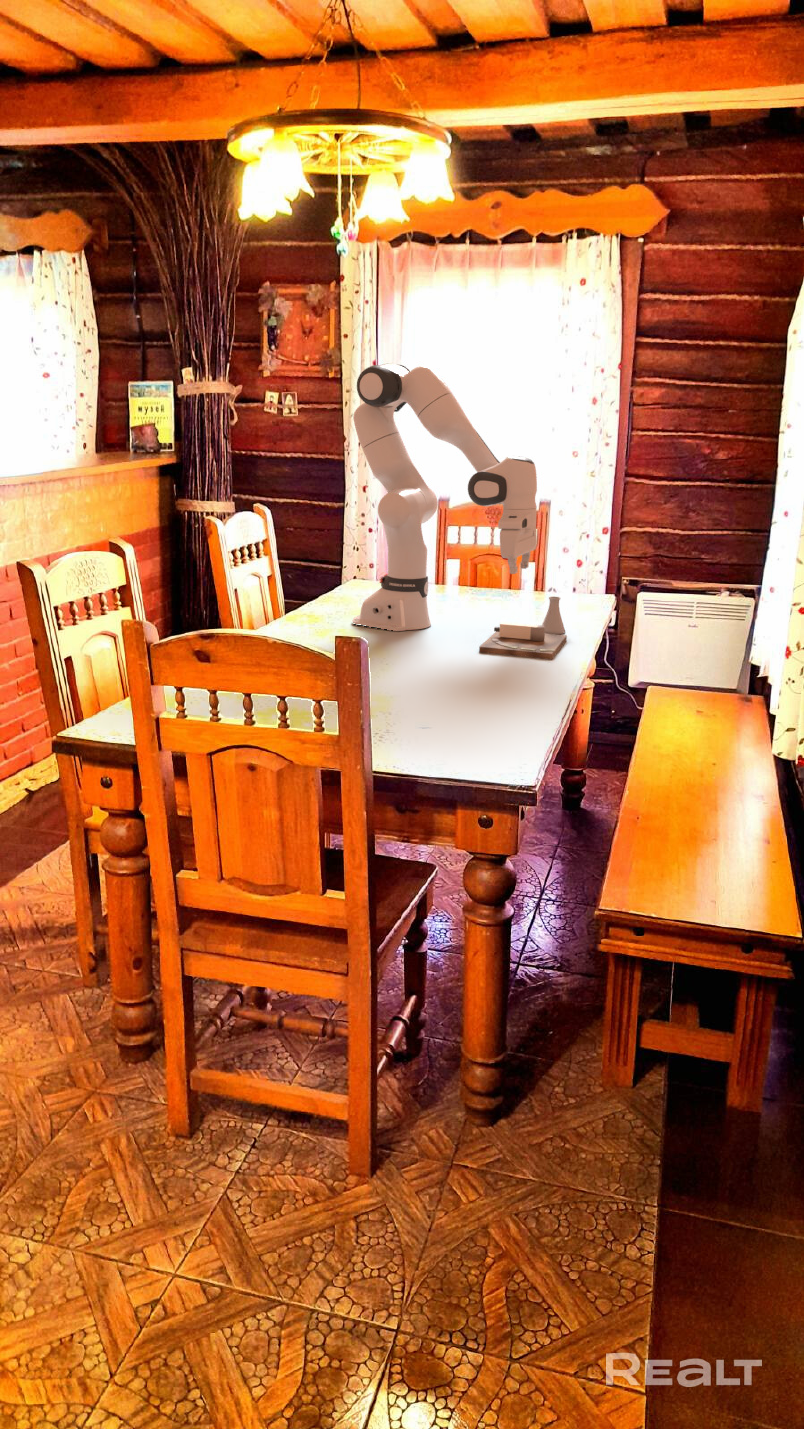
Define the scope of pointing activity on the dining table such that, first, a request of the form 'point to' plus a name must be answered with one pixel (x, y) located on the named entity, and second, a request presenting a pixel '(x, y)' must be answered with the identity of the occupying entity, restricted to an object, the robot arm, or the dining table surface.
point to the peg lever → (521, 631)
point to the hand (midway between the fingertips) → (519, 570)
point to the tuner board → (524, 646)
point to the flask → (553, 618)
